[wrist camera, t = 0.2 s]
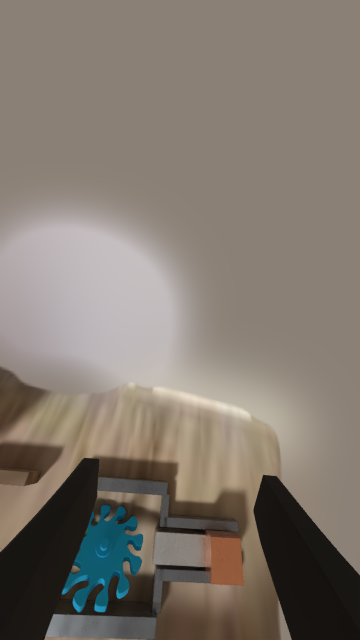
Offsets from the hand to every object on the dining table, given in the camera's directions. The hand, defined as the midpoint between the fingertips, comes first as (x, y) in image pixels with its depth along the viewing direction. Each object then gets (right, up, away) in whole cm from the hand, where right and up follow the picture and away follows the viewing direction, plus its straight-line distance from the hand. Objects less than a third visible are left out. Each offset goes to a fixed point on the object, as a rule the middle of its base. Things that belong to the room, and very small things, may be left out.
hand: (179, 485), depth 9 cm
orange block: (+2, -25, +21) cm, 33 cm away
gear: (-11, -24, +21) cm, 33 cm away
